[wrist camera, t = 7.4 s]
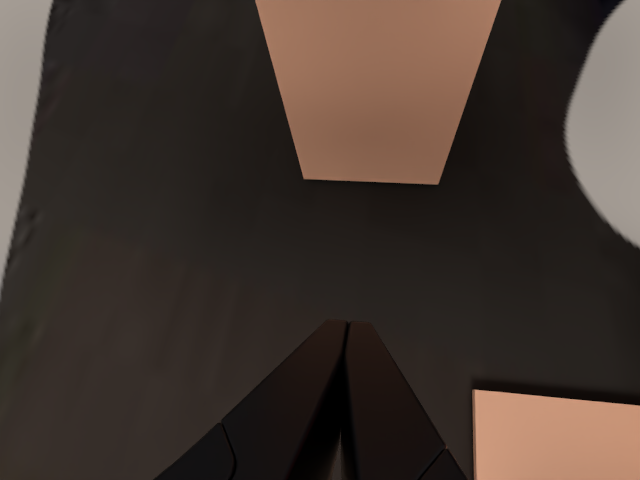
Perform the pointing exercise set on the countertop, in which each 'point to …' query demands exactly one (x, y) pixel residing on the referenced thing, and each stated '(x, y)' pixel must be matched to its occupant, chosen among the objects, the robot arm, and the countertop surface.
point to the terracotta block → (375, 82)
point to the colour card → (553, 438)
